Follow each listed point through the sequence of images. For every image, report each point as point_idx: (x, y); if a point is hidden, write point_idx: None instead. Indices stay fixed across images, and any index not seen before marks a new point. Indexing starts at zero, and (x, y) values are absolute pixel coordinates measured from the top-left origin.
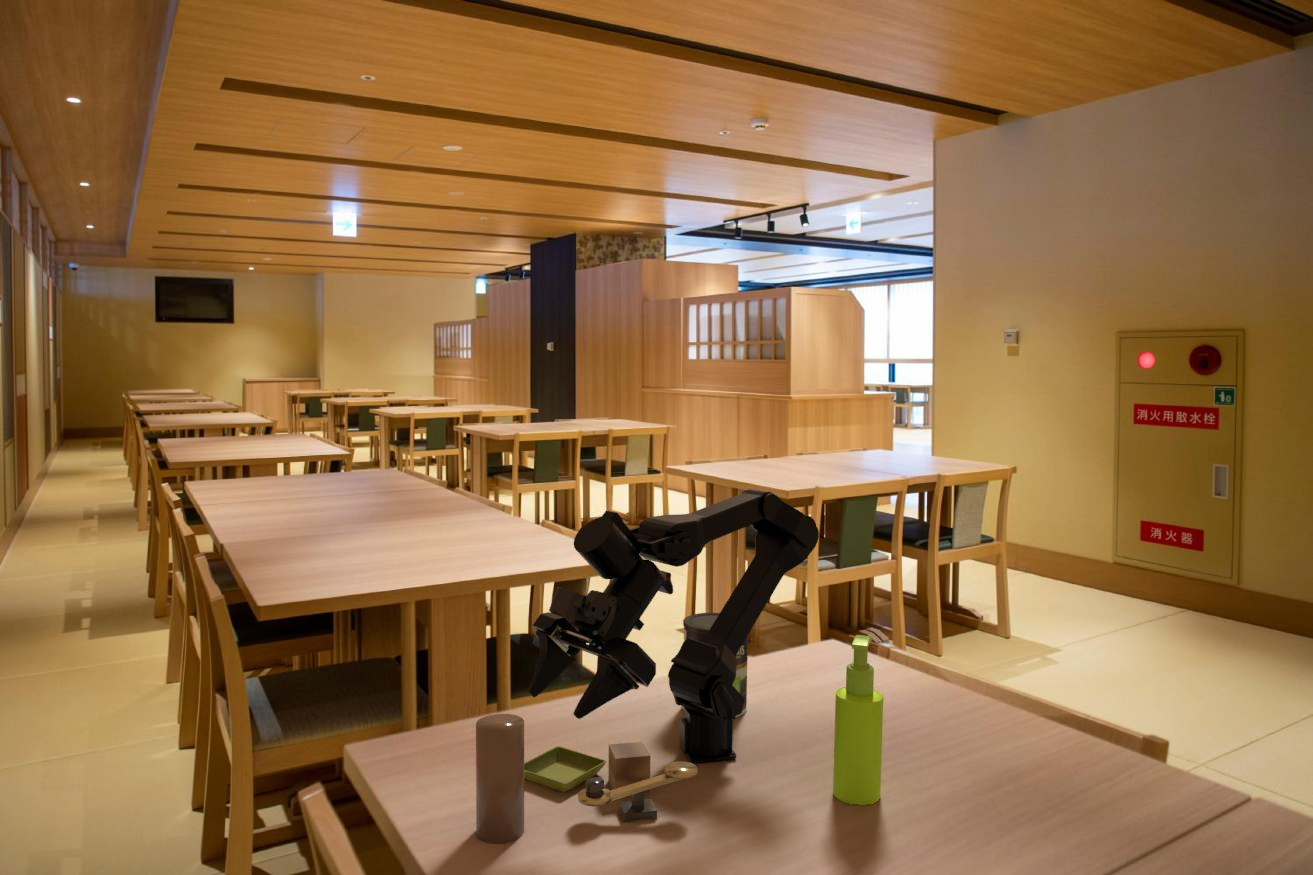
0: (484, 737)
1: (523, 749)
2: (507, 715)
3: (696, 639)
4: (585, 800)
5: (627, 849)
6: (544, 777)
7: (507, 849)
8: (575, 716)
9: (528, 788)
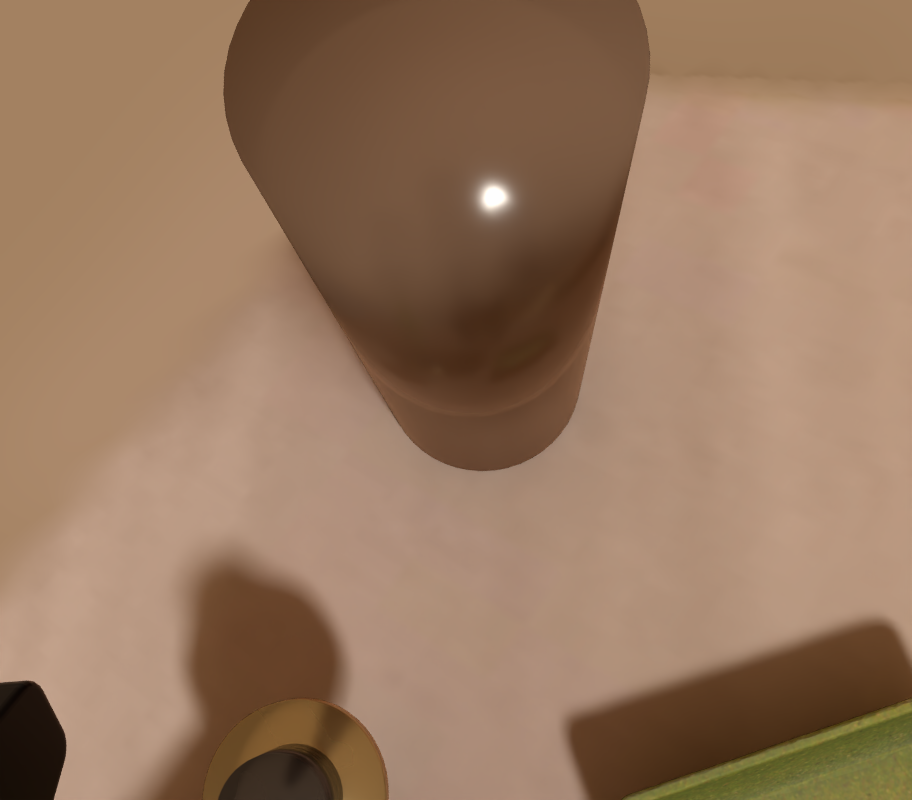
0: None
1: (334, 303)
2: (553, 178)
3: None
4: (271, 712)
5: None
6: (757, 751)
7: (344, 338)
8: (49, 707)
9: (796, 680)
